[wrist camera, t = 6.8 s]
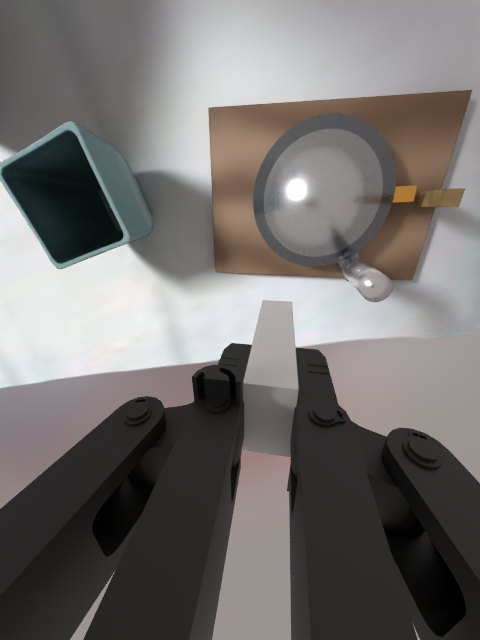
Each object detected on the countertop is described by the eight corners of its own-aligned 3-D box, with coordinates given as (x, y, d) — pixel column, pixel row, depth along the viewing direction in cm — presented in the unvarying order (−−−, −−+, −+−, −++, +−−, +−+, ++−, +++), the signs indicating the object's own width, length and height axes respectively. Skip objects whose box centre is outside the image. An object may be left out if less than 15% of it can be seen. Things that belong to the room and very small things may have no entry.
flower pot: (175, 232, 28) (131, 241, 20) (116, 254, 30) (55, 271, 22) (140, 146, 25) (71, 116, 17) (77, 179, 27) (-9, 167, 19)
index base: (211, 111, 22) (193, 87, 18) (463, 95, 19) (517, 61, 15) (217, 270, 29) (205, 281, 24) (407, 277, 26) (433, 292, 21)
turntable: (232, 180, 23) (205, 165, 15) (365, 75, 19) (425, -24, 11) (299, 298, 27) (305, 335, 19) (423, 235, 23) (499, 250, 15)
